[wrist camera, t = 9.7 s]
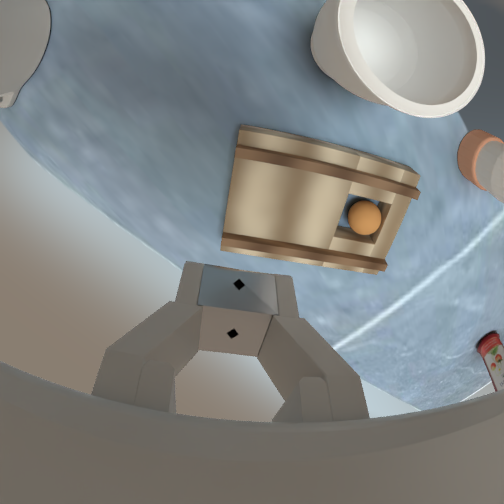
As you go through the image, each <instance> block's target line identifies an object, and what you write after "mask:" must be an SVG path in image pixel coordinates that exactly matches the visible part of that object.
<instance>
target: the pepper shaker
mask: <svg viewBox="0 0 504 504" xmlns="http://www.w3.org/2000/svg"><path fill="white" fill-rule="evenodd" d="M458 166H459V169H460V171H461V173H462V175H463V176H464V177H466V178H467V179H468V180H469V181H471V182H472V183H473V184H475V185H476V186H477V187H479V188H480V189H482V190H485V191H488V192H489V193H491V194H492V195H493V196H494V197H495V198H496V199H497V200H499V201H501V202H503V203H504V143H503V141H502V140H501V139H499V138H497V137H495V136H493V135H491V134H489V133H487V132H485V131H482V130H473V131H471V132H469V133H468V134H467V135H466V136H465V137H464V138H463V140H462V141H461V143H460V146H459V150H458Z"/></svg>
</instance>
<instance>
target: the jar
mask: <svg viewBox="0 0 504 504" xmlns="http://www.w3.org/2000/svg"><path fill="white" fill-rule="evenodd" d="M311 51H312V55H313V57H314V60H315V62H316V63H317V65H318V66H319V67H320V69H321V70H322V71H323V72H324V73H325V74H326V75H328V76H329V77H331V78H332V79H334V80H335V81H336V82H337V83H338V84H339V85H341V86H342V87H343V88H345V89H346V90H348V91H349V92H351V93H353V94H354V95H356V96H358V97H360V98H363V99H365V100H368V101H371V102H374V103H377V104H382V105H387V106H389V107H391V108H393V109H395V110H398V111H400V112H403V113H406V114H410V115H413V116H417V117H424V118H437V117H443V116H447V115H450V114H453V113H455V112H457V111H459V110H460V109H462V108H463V107H464V106H465V105H467V104H468V103H469V102H470V100H471V99H472V98H473V97H474V95H475V94H476V92H477V90H478V88H479V86H480V84H481V81H482V78H483V74H484V66H485V54H484V46H483V40H482V37H481V33H480V31H479V28H478V25H477V23H476V21H475V19H474V17H473V15H472V14H471V12H470V11H469V9H468V7H467V6H466V5H465V3H464V2H463V1H462V0H327V1H326V2H325V4H324V5H323V7H322V8H321V10H320V11H319V13H318V16H317V18H316V21H315V25H314V30H313V33H312V36H311Z"/></svg>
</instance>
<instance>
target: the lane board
mask: <svg viewBox="0 0 504 504" xmlns="http://www.w3.org/2000/svg"><path fill="white" fill-rule="evenodd" d="M419 178H420V175H419V174H418V173H417V172H415V171H414V170H413V169H412V168H410V167H409V166H406V165H403V164H400V163H397V162H394V161H391V160H388V159H385V158H382V157H379V156H376V155H372V154H369V153H366V152H362V151H359V150H355V149H352V148H348V147H344V146H341V145H337V144H333V143H329V142H325V141H321V140H317V139H313V138H309V137H304V136H300V135H295V134H291V133H286V132H281V131H276V130H271V129H265V128H260V127H254V126H248V125H242V124H241V127H240V130H239V135H238V141H237V146H236V151H235V159H234V165H233V171H232V177H231V183H230V190H229V196H228V203H227V209H226V216H225V222H224V229H223V235H222V241H221V251H227V252H234V253H240V254H246V255H253V256H259V257H265V258H272V259H278V260H285V261H291V262H298V263H304V264H310V265H317V266H323V267H330V268H336V269H343V270H349V271H356V272H362V273H369V274H375V275H377V274H378V272H379V271H385V269H386V267H387V263H386V261H385V257H386V255H387V253H388V251H389V249H390V247H391V245H392V243H393V240H394V238H395V236H396V234H397V232H398V229H399V227H400V225H401V223H402V220H403V218H404V216H405V213H406V211H407V209H408V206H409V204H410V201H411V199H412V198H413V199H416V200H418V197H419V195H420V191H419V190H418V189H417V188H416V186H417V184H418V181H419ZM348 194H353V195H357V196H362V197H366V198H370V199H373V200H377V201H380V202H379V204H378V209H379V210H380V213H381V223H380V226H379V228H378V229H377V230H376V231H375V232H374V233H372V234H369V235H361V234H358V233H356V232H355V231H354V230H353V229H352V228H347V227H342V226H337V225H338V222H339V220H340V217H341V214H342V211H343V208H344V205H345V202H346V200H347V197H348Z"/></svg>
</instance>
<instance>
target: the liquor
mask: <svg viewBox="0 0 504 504" xmlns="http://www.w3.org/2000/svg"><path fill="white" fill-rule="evenodd" d="M477 352H478V353H480V354H481V356H482V358H483V360H484V363H485V365H486V367H487V370H488V372H489V375H490V377H491V380H492V383H493V386H494V389H495V392H497V391H500V390H503V389H504V346H503V344H502V343H501V341H500V339H499V334H495V333H490V334H488V335H486V336H485V337H484V338H483V339H482V340H481V341H480V344H479V347H478V350H477Z"/></svg>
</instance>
